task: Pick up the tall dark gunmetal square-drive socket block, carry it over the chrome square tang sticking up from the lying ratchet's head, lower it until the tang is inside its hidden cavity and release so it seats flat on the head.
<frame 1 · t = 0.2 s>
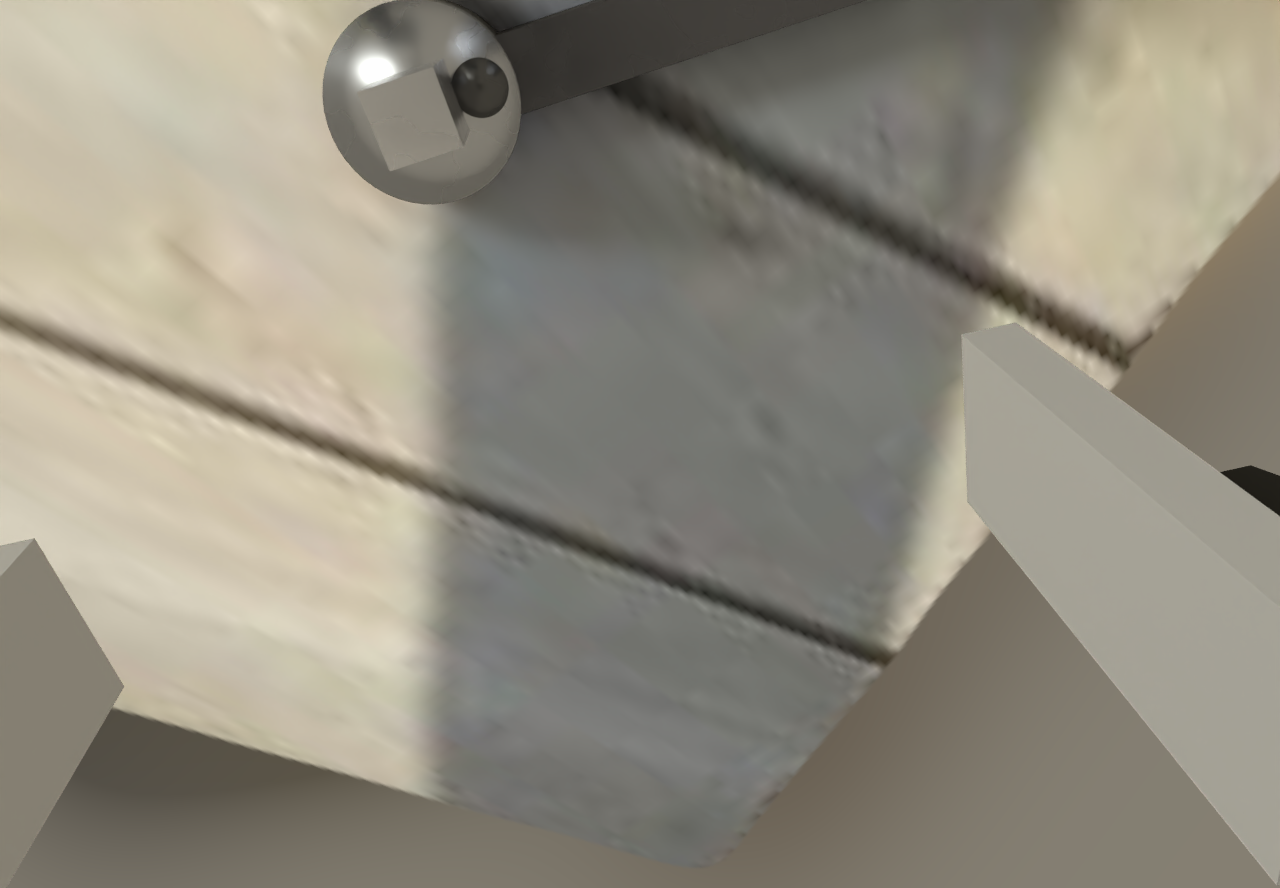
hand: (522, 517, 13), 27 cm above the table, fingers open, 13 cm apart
ratchet: (431, 96, 36), on the table
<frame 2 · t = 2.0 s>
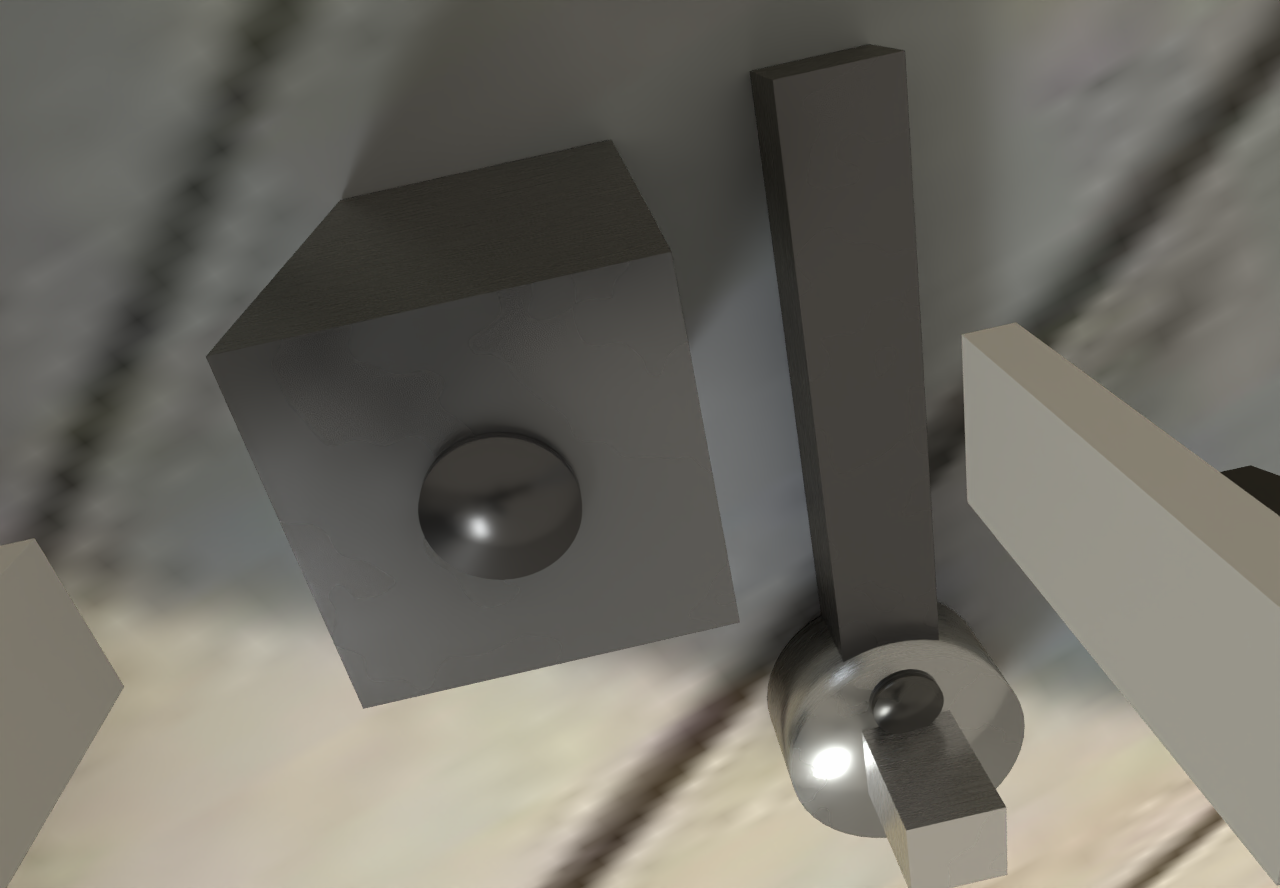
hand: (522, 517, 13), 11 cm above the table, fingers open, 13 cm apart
socket: (511, 300, 23), on the table
ratchet: (874, 683, 30), on the table
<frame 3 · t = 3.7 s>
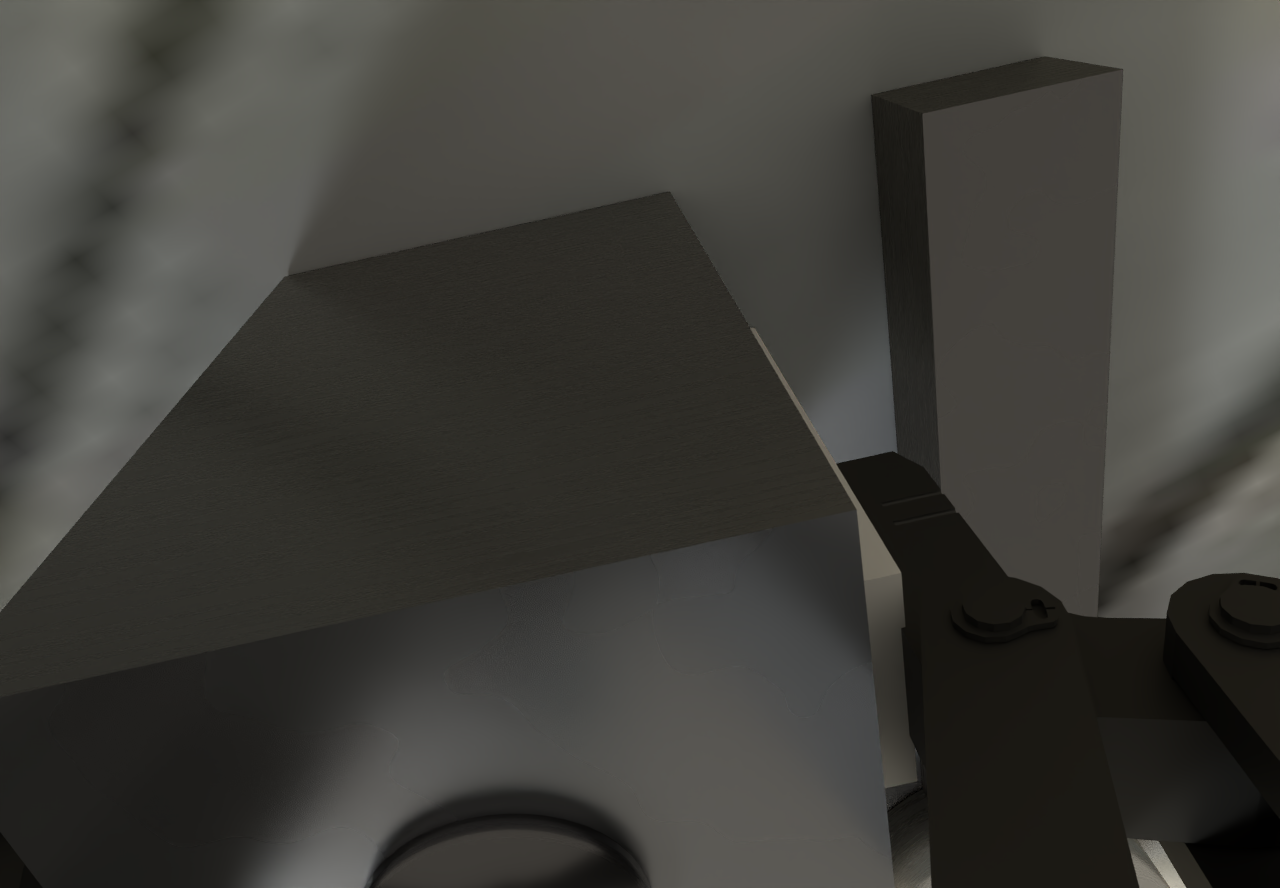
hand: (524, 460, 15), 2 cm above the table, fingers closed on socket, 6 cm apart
socket: (526, 408, 16), on the table, touching gripper
ratchet: (983, 864, 23), on the table
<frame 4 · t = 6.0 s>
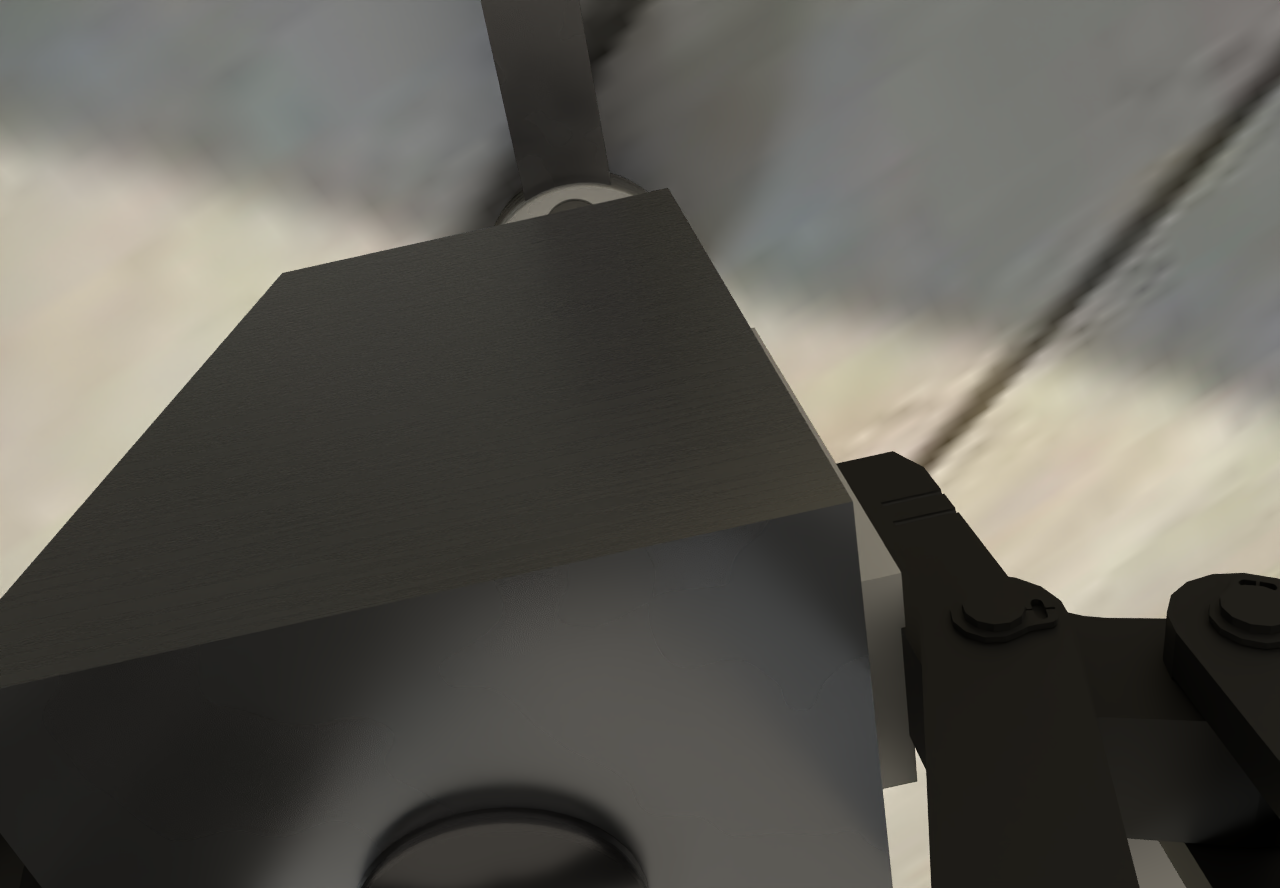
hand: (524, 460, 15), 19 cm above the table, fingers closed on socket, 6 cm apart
socket: (524, 405, 16), point 17 cm above the table, touching gripper
ratchet: (584, 270, 33), on the table
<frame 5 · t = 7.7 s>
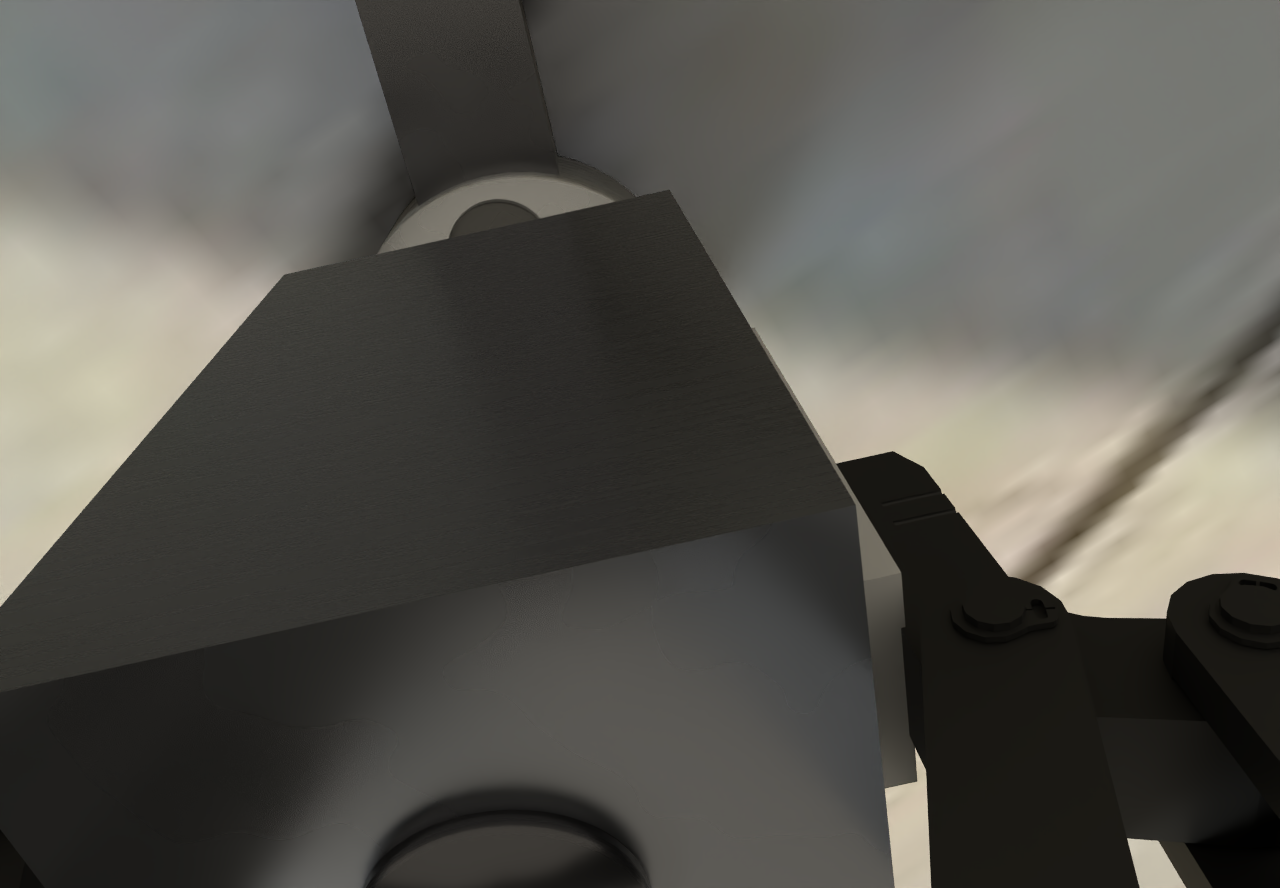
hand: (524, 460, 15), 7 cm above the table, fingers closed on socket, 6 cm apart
socket: (525, 406, 16), point 6 cm above the table, touching gripper
ratchet: (530, 308, 21), on the table
when the fingers open (7 cm above the table, at t = 8.6 s): socket drops 2 cm, resting on ratchet.
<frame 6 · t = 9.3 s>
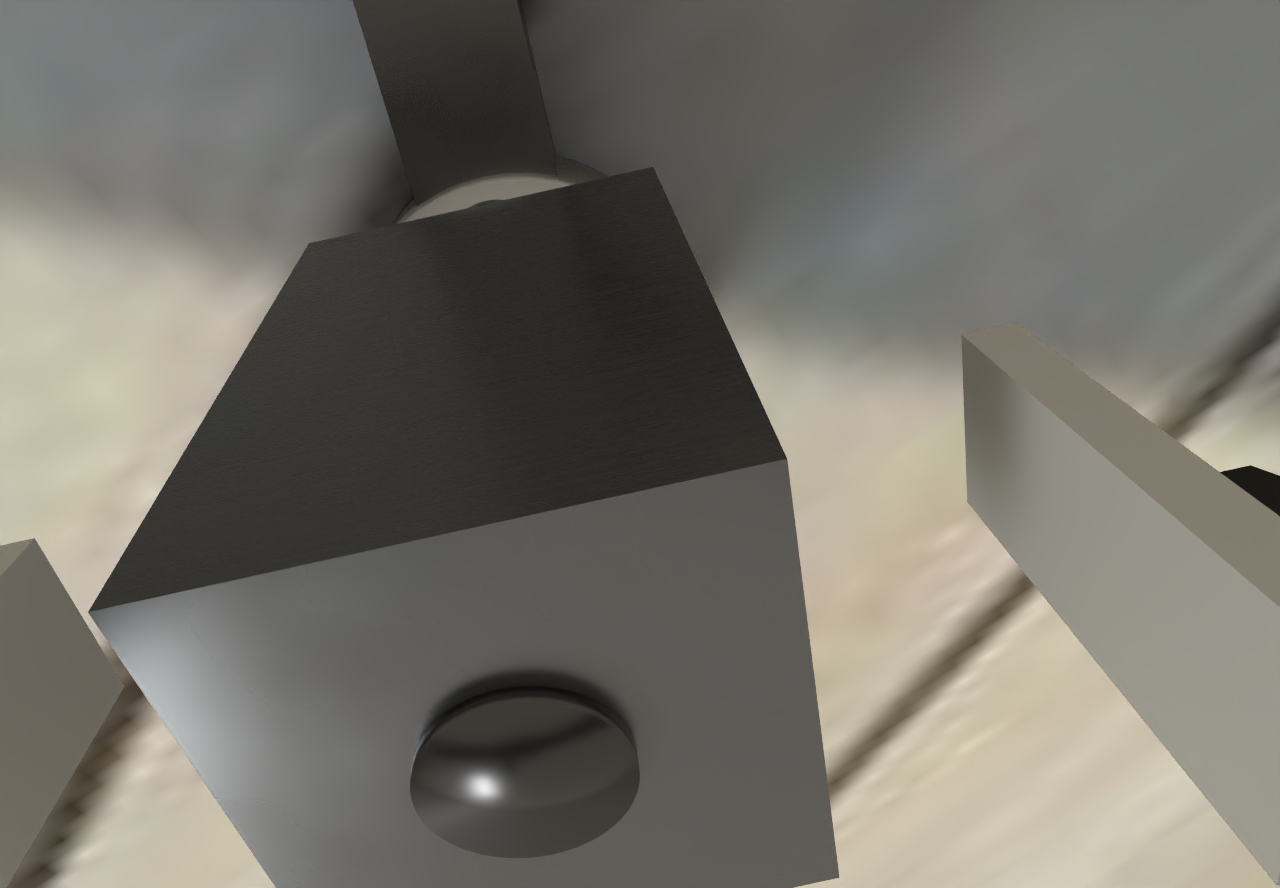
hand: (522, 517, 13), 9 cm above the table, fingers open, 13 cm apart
socket: (525, 360, 18), point 3 cm above the table, touching ratchet
ratchet: (529, 309, 21), on the table
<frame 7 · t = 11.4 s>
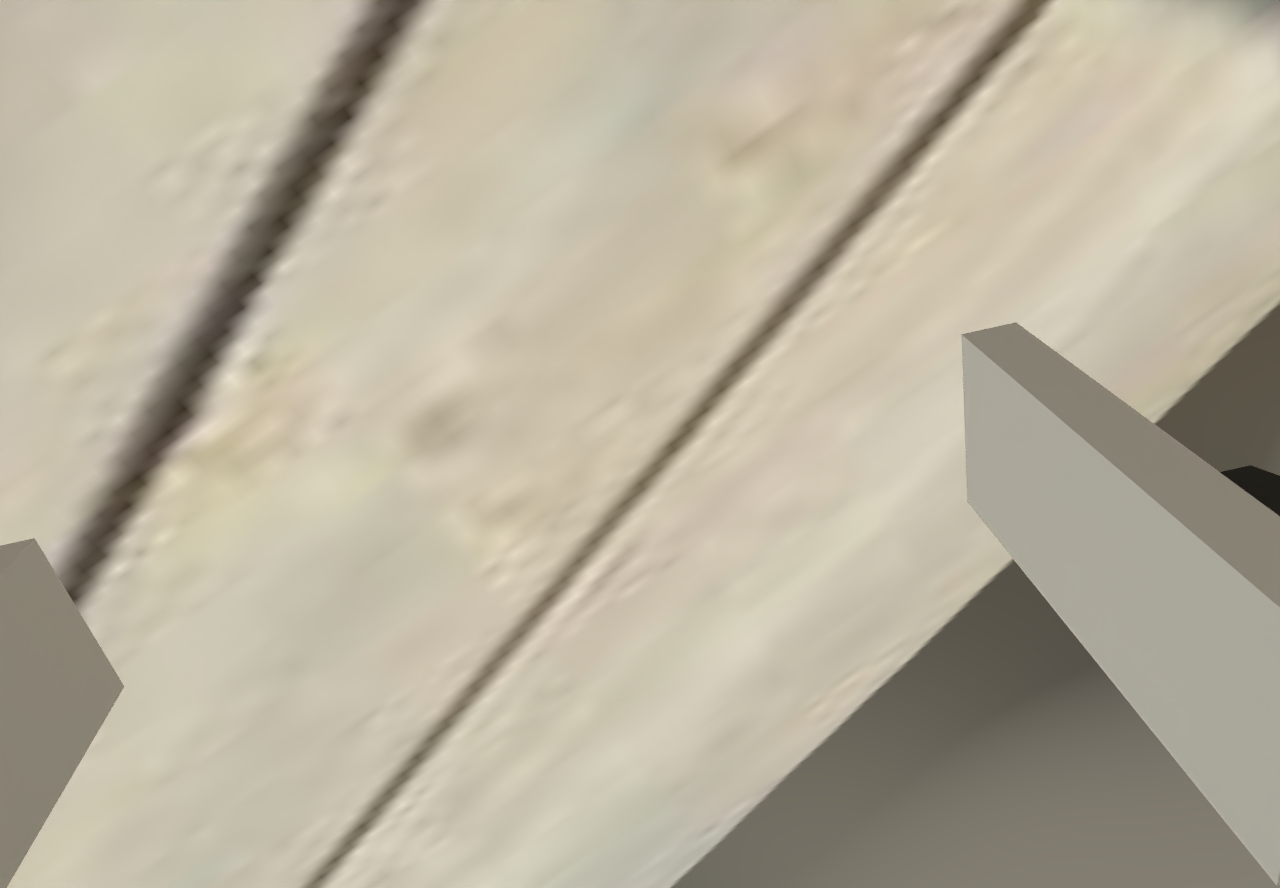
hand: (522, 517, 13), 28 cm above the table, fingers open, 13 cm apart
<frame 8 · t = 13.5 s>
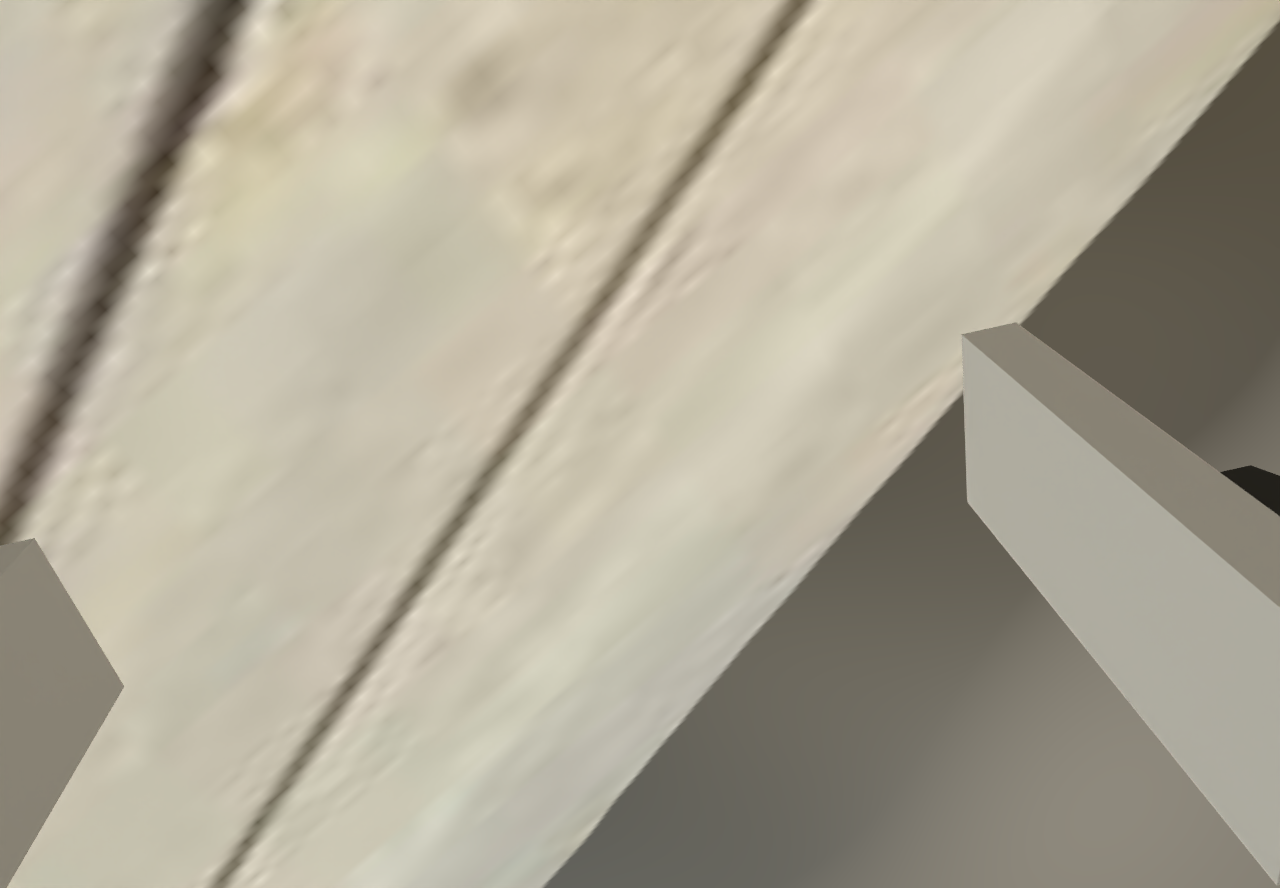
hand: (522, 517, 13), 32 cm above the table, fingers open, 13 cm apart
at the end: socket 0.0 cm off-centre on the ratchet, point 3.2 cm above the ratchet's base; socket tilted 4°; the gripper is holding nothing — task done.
